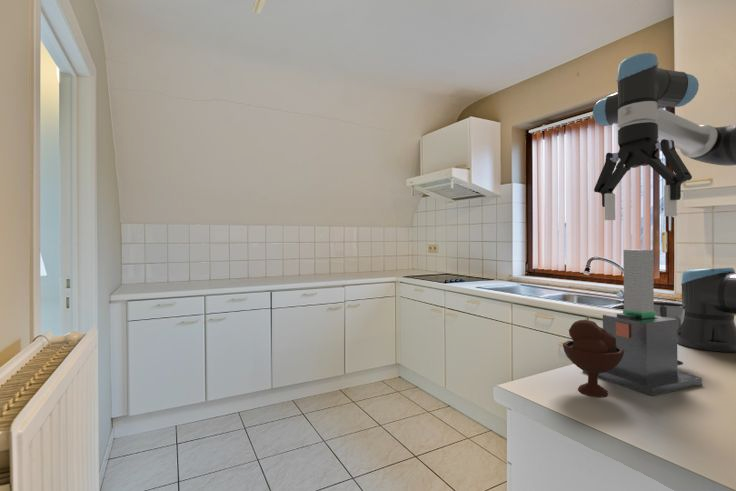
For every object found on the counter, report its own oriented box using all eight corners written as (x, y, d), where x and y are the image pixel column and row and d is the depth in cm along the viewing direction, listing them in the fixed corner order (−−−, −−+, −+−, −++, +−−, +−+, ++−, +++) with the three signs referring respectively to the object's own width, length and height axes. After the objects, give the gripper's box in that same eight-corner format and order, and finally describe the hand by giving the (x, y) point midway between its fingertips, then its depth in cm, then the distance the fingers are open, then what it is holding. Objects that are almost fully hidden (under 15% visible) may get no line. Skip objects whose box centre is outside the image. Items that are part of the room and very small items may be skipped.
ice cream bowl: (604, 407, 72) (604, 328, 72) (552, 387, 82) (551, 318, 82) (636, 396, 77) (635, 322, 77) (583, 379, 86) (582, 313, 86)
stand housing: (628, 363, 97) (628, 305, 97) (701, 385, 82) (701, 317, 82) (582, 371, 92) (582, 310, 92) (652, 396, 77) (651, 323, 77)
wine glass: (692, 366, 94) (692, 306, 94) (656, 364, 96) (656, 305, 96) (673, 356, 102) (673, 301, 102) (640, 355, 104) (640, 301, 104)
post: (635, 338, 90) (635, 249, 89) (655, 343, 86) (654, 249, 85) (623, 340, 88) (622, 249, 88) (642, 345, 84) (641, 250, 84)
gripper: (578, 138, 97) (578, 221, 97) (689, 105, 74) (689, 213, 74) (599, 141, 100) (599, 221, 100) (712, 109, 76) (713, 214, 76)
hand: (638, 218), depth 87 cm, fingers open, 13 cm apart
